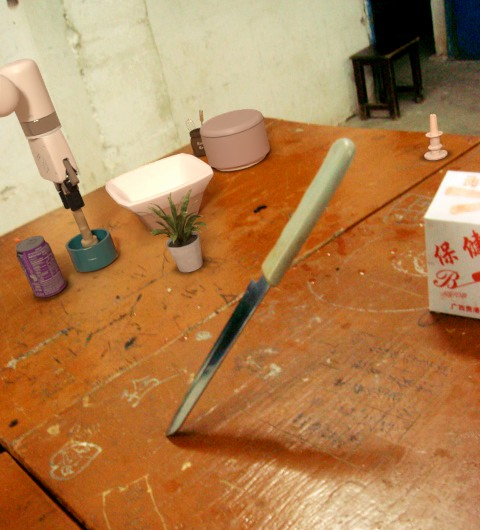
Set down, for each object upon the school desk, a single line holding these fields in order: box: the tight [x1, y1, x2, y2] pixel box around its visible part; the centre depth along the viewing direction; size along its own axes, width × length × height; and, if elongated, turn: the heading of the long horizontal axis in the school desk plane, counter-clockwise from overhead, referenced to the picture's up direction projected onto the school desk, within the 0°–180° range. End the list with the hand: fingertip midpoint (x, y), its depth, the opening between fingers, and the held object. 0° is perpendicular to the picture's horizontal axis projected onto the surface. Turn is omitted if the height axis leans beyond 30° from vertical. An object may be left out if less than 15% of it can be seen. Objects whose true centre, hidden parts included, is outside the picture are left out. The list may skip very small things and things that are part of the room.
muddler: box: [61, 181, 98, 248], centre depth 140 cm, size 4×4×15 cm
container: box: [199, 108, 271, 172], centre depth 177 cm, size 18×18×12 cm
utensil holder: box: [185, 109, 206, 157], centre depth 191 cm, size 6×6×12 cm
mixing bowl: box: [64, 227, 119, 273], centre depth 144 cm, size 10×10×6 cm
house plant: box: [130, 189, 208, 273], centre depth 128 cm, size 14×14×16 cm
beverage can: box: [14, 235, 67, 298], centre depth 136 cm, size 7×7×12 cm
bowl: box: [104, 152, 214, 231], centre depth 155 cm, size 24×25×11 cm
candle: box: [423, 113, 448, 161], centre depth 148 cm, size 5×5×10 cm
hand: (75, 206), depth 139 cm, fingers closed on muddler, 2 cm apart
